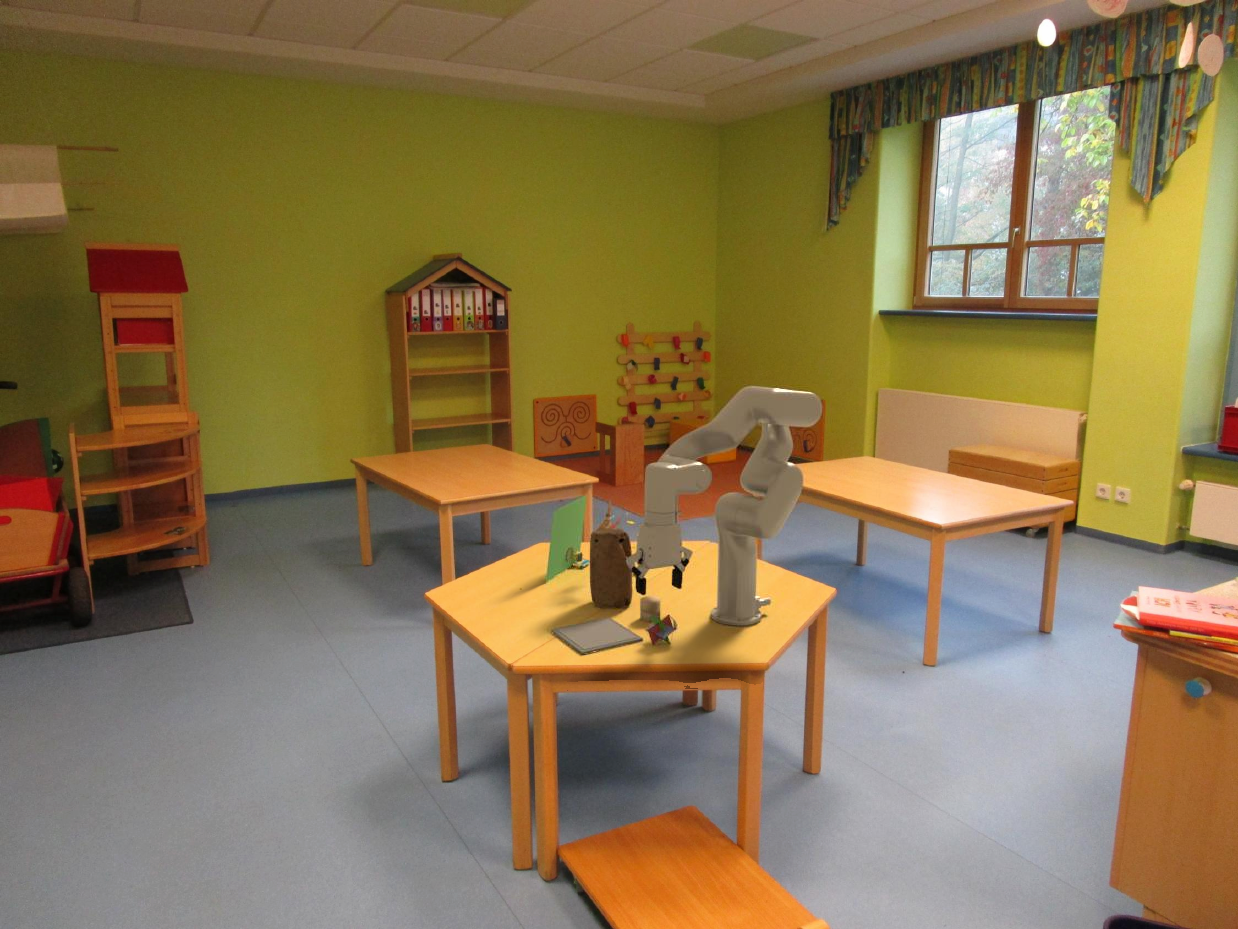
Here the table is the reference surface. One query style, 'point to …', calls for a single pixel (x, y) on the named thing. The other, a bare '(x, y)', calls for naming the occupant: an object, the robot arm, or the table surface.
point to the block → (610, 568)
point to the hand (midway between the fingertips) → (659, 590)
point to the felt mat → (596, 635)
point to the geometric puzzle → (661, 629)
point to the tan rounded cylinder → (649, 608)
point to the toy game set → (570, 536)
